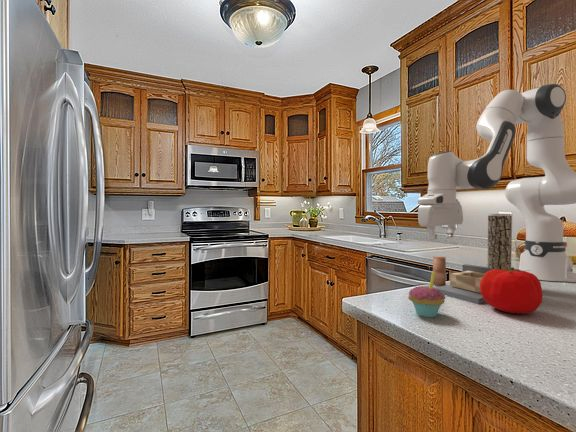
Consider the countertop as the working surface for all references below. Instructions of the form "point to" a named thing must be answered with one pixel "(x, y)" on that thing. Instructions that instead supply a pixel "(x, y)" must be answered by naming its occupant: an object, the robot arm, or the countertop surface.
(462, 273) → the square wooden frame
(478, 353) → the countertop surface
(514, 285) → the tomato
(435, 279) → the dowel
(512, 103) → the robot arm
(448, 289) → the slate track
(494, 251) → the wooden log
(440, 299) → the cupcake
